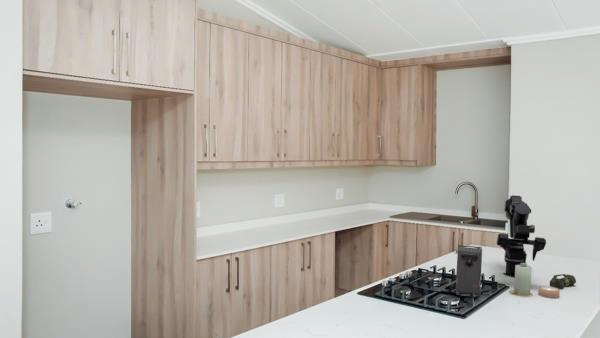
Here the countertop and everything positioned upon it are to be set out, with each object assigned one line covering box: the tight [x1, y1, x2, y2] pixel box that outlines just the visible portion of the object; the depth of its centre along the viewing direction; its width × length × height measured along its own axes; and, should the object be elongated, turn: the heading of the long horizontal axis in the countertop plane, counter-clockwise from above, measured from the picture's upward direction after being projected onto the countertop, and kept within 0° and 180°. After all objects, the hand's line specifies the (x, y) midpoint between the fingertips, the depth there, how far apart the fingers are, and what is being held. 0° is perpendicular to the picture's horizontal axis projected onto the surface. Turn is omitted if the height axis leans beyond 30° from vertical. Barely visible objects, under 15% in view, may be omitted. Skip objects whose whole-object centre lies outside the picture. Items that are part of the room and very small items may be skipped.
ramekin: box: [537, 285, 561, 299], centre depth 205 cm, size 8×8×3 cm
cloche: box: [513, 262, 533, 297], centre depth 206 cm, size 6×6×12 cm
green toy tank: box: [549, 273, 577, 290], centre depth 221 cm, size 6×5×18 cm
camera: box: [453, 244, 483, 297], centre depth 210 cm, size 11×17×20 cm, turn 161°
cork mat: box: [508, 289, 534, 298], centre depth 207 cm, size 9×9×1 cm
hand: (521, 259), depth 213 cm, fingers open, 9 cm apart
